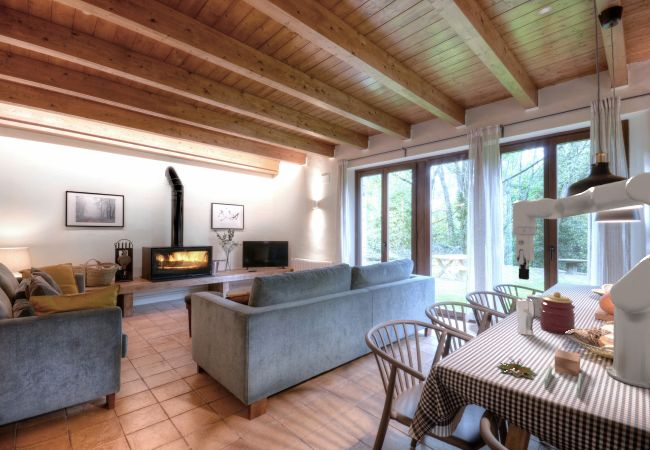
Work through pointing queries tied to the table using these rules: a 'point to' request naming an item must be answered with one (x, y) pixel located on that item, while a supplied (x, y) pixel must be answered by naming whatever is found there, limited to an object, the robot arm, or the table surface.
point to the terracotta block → (567, 362)
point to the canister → (557, 313)
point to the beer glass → (525, 315)
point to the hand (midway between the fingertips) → (523, 279)
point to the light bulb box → (536, 303)
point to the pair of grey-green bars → (551, 374)
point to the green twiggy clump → (517, 367)
